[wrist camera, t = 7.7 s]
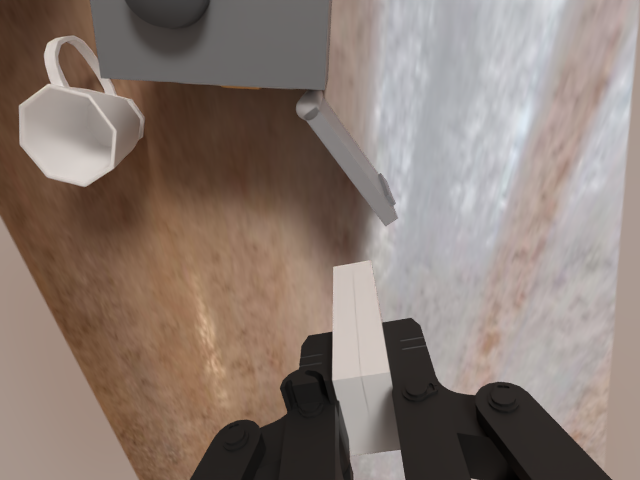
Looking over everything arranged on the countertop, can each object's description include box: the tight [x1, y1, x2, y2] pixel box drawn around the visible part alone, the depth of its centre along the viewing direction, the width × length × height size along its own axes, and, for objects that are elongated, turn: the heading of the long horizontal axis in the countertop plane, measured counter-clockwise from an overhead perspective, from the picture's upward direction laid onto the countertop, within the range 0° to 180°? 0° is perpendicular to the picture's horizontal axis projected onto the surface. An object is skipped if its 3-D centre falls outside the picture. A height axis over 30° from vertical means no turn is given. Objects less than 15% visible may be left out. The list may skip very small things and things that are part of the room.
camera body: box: [90, 0, 332, 90], centre depth 28 cm, size 8×13×12 cm, turn 87°
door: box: [296, 89, 398, 226], centre depth 32 cm, size 2×10×9 cm, turn 37°
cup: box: [19, 35, 145, 187], centre depth 33 cm, size 7×10×8 cm
